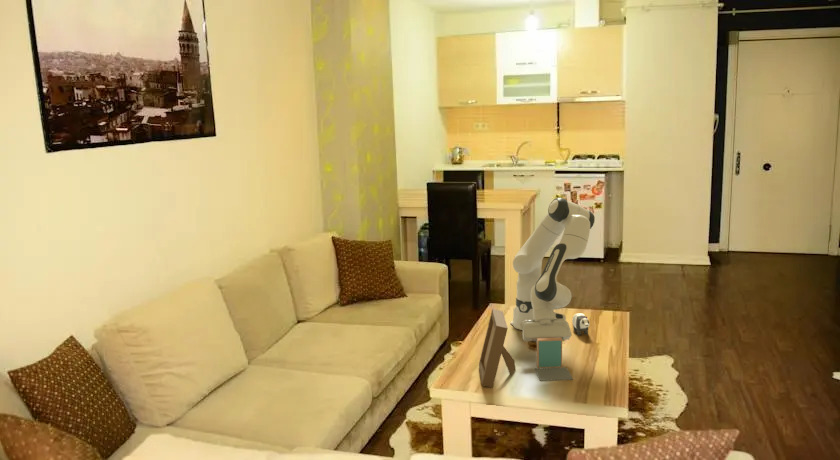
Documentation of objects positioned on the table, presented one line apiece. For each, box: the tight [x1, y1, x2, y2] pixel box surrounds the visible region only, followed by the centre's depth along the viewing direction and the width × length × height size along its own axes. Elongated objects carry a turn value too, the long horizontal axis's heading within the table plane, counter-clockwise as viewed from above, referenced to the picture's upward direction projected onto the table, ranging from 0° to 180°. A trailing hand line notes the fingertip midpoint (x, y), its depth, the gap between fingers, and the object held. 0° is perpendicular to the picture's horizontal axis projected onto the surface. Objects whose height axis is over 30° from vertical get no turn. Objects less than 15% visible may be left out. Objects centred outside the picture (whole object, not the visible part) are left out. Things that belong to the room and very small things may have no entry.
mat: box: [534, 366, 574, 382], centre depth 278 cm, size 12×13×1 cm
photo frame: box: [478, 308, 516, 388], centre depth 276 cm, size 15×22×25 cm
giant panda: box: [571, 312, 590, 336], centre depth 323 cm, size 15×6×10 cm, turn 4°
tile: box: [536, 338, 563, 368], centre depth 285 cm, size 10×3×12 cm, turn 91°
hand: (549, 349), depth 288 cm, fingers closed
